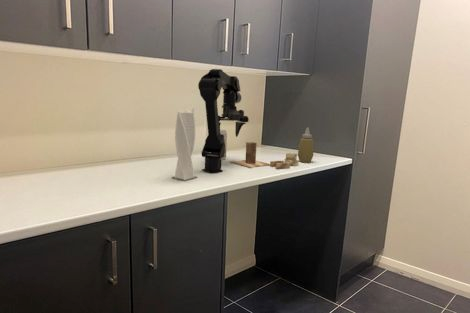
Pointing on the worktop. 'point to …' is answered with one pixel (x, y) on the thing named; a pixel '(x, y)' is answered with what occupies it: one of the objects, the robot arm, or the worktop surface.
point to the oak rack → (279, 164)
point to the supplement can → (224, 141)
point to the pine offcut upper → (291, 156)
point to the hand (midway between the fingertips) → (227, 136)
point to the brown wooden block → (250, 152)
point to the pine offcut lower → (292, 162)
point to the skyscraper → (185, 144)
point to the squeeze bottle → (306, 147)
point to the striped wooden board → (256, 164)
